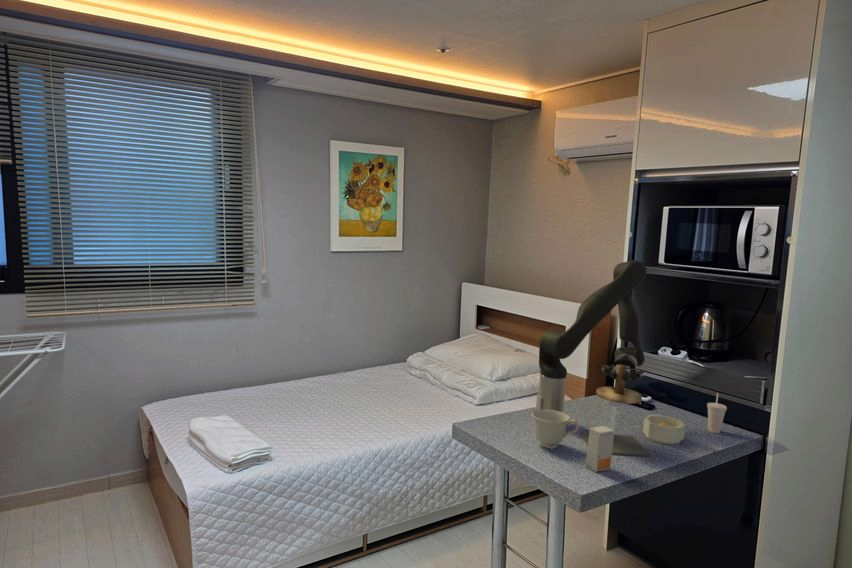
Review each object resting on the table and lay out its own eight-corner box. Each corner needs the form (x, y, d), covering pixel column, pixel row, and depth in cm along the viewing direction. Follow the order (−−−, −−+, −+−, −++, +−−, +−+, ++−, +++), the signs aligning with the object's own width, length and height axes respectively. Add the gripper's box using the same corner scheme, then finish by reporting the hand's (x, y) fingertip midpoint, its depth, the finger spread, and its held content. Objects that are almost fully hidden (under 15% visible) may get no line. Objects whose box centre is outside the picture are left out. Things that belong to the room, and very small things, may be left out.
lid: (604, 402, 174) (606, 370, 173) (590, 388, 188) (593, 359, 187) (648, 404, 174) (651, 372, 173) (632, 391, 188) (634, 361, 187)
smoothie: (719, 428, 205) (723, 391, 203) (727, 435, 198) (731, 397, 197) (701, 427, 205) (705, 390, 204) (708, 433, 199) (712, 395, 197)
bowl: (652, 444, 186) (654, 426, 185) (638, 430, 198) (640, 414, 197) (688, 446, 186) (690, 428, 185) (672, 432, 198) (674, 416, 197)
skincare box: (595, 473, 160) (599, 432, 159) (585, 466, 164) (588, 427, 163) (611, 469, 163) (615, 430, 162) (600, 463, 167) (604, 425, 166)
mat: (593, 453, 175) (593, 451, 174) (579, 434, 190) (579, 432, 190) (650, 456, 175) (650, 454, 175) (631, 437, 191) (632, 435, 190)
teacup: (574, 457, 170) (577, 426, 169) (526, 448, 175) (528, 417, 174) (578, 444, 182) (581, 414, 180) (532, 435, 187) (535, 406, 186)
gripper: (604, 352, 196) (598, 362, 180) (647, 358, 190) (644, 369, 174) (603, 373, 196) (595, 385, 181) (645, 380, 191) (642, 392, 175)
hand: (619, 377), depth 178 cm, fingers closed on lid, 3 cm apart
